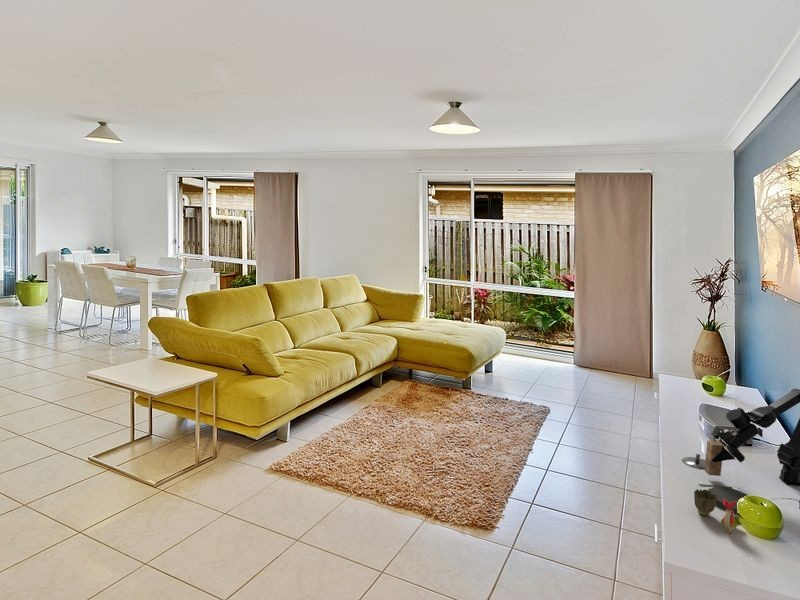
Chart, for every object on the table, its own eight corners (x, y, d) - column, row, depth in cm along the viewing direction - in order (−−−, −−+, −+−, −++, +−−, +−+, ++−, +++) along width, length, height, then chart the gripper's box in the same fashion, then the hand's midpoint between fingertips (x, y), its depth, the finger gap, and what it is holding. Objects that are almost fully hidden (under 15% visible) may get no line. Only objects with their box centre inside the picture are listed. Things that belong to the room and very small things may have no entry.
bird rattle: (738, 541, 181) (742, 521, 187) (740, 519, 176) (744, 499, 182) (717, 535, 185) (722, 515, 191) (718, 513, 180) (723, 493, 186)
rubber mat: (721, 477, 222) (721, 476, 222) (732, 489, 213) (732, 487, 213) (691, 474, 224) (691, 473, 224) (700, 486, 215) (700, 485, 214)
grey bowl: (706, 460, 238) (707, 449, 237) (717, 472, 226) (718, 461, 226) (677, 458, 240) (678, 447, 239) (687, 470, 228) (688, 459, 227)
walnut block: (715, 470, 220) (718, 441, 218) (720, 475, 215) (723, 445, 213) (704, 470, 220) (707, 440, 218) (708, 475, 216) (711, 444, 214)
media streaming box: (699, 497, 206) (700, 490, 206) (724, 490, 212) (725, 483, 212) (736, 517, 193) (737, 509, 193) (762, 508, 199) (762, 501, 199)
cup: (687, 510, 196) (689, 490, 195) (702, 507, 199) (704, 487, 198) (705, 521, 189) (707, 500, 188) (720, 517, 192) (722, 497, 191)
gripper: (718, 412, 223) (688, 435, 226) (739, 429, 205) (705, 454, 208) (736, 431, 223) (706, 454, 226) (759, 450, 205) (725, 474, 208)
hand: (710, 458), depth 217 cm, fingers closed on walnut block, 4 cm apart
